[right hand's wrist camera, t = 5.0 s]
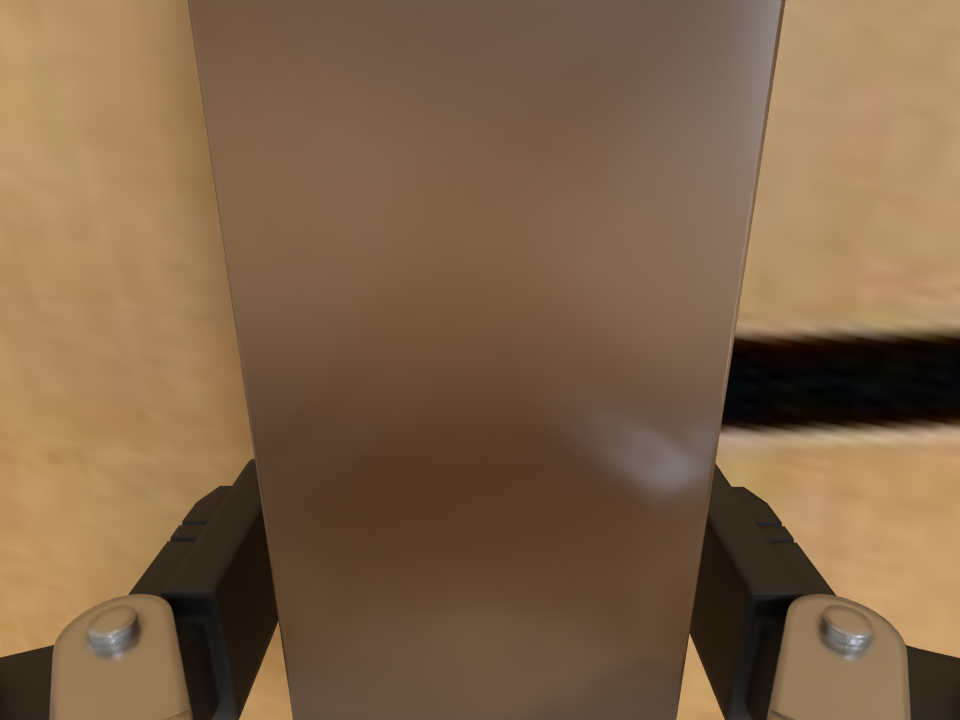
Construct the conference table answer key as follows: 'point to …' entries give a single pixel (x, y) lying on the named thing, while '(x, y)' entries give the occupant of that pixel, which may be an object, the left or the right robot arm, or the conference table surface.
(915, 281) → the conference table surface
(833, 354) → the conference table surface
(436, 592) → the post
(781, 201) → the conference table surface
